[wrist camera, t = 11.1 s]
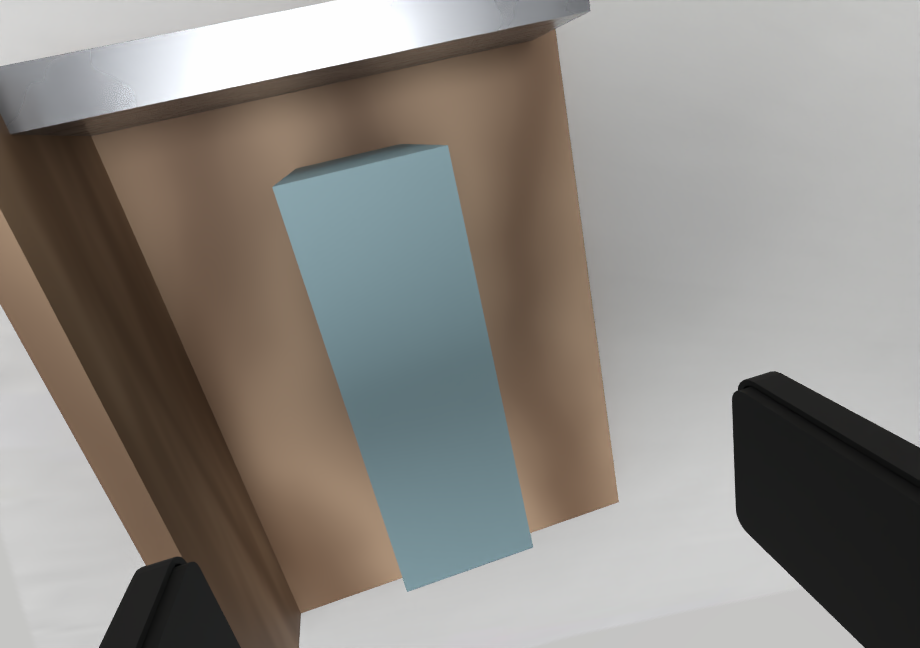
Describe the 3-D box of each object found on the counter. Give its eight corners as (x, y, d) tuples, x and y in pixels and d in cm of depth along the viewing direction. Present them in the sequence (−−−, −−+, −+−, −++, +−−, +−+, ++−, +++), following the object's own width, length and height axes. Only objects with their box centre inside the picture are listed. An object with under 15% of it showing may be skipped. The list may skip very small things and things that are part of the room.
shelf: (536, 0, 21) (654, -82, 14) (605, 485, 30) (702, 607, 22) (59, 99, 19) (-131, 68, 11) (282, 596, 28) (264, 777, 20)
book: (400, 143, 21) (447, 145, 12) (465, 411, 25) (533, 547, 17) (296, 168, 20) (271, 186, 12) (380, 438, 24) (407, 591, 16)
